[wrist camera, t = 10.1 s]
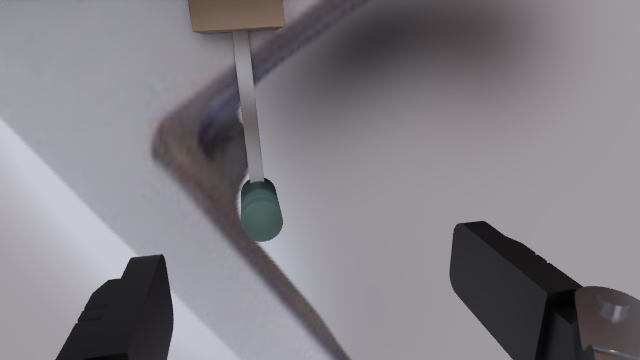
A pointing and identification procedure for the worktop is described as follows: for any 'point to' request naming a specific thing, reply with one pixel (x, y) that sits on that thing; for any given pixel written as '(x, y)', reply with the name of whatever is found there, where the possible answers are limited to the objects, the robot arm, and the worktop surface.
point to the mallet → (246, 100)
